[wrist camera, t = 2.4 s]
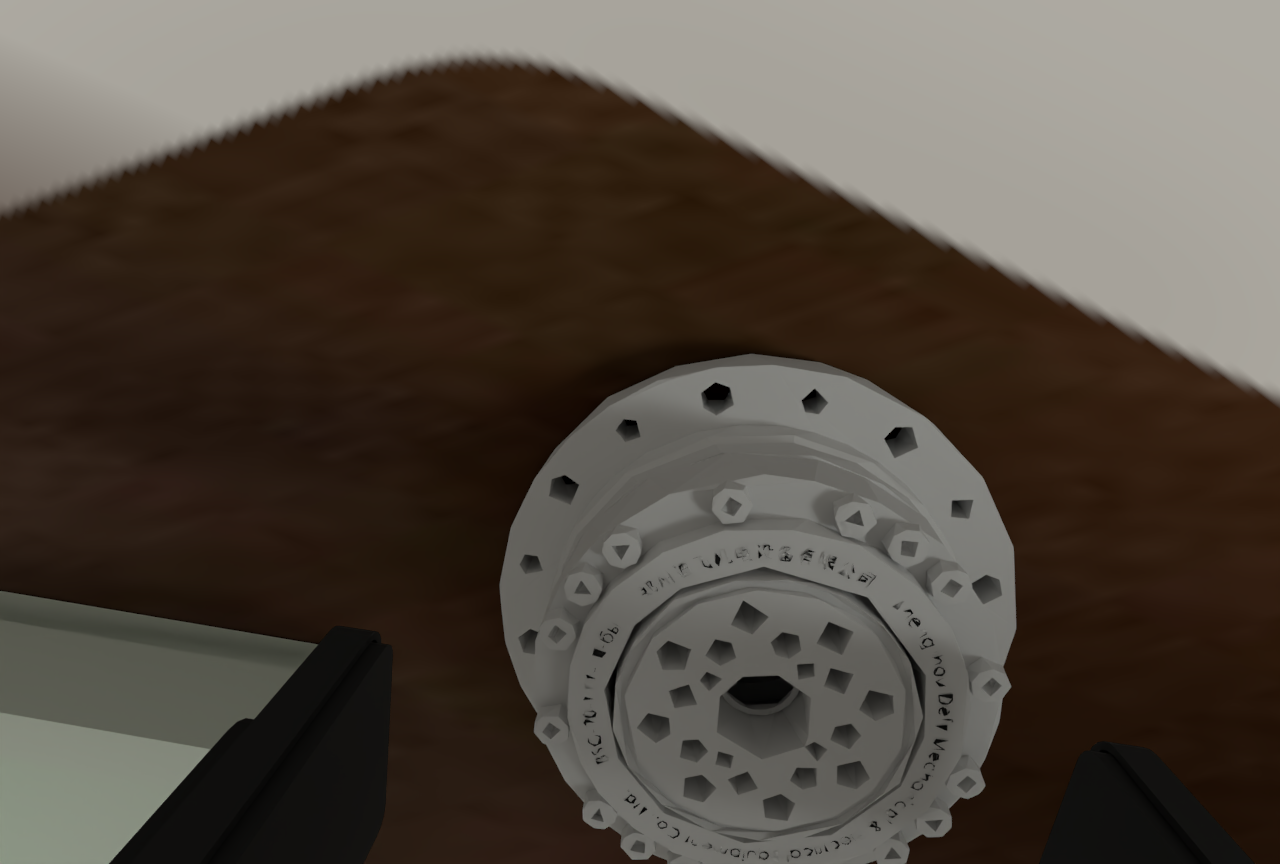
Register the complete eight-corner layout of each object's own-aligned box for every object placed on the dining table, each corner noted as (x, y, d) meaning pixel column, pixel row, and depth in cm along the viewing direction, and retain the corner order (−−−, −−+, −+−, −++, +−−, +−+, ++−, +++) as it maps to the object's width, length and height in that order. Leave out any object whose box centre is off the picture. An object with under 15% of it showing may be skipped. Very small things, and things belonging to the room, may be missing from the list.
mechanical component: (1096, 539, 15) (695, 247, 14) (1258, 666, 10) (693, 255, 9) (787, 849, 17) (434, 621, 16) (816, 1052, 13) (340, 758, 12)
